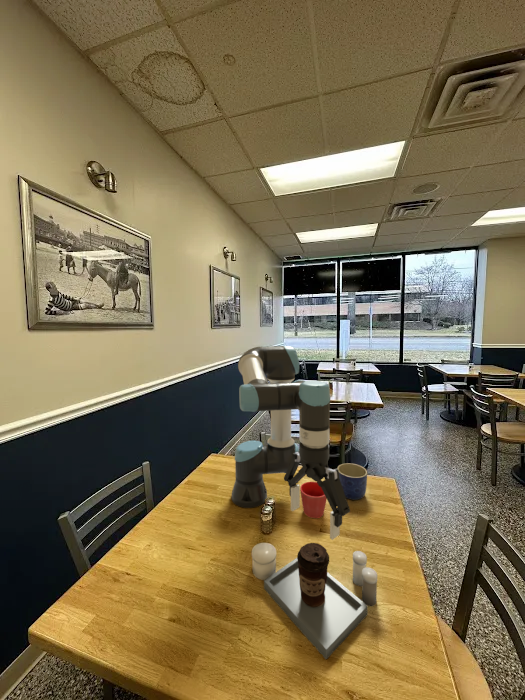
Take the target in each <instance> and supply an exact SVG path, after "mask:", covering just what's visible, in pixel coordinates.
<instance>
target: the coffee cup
mask: <svg viewBox="0 0 525 700" xmlns="http://www.w3.org/2000/svg"><path fill="white" fill-rule="evenodd" d="M327 550H328V549H326V547H324V546H323V545H321V544H320V543H316V542H309V543H306V544H304V545H303V546H301V547H300V549H299V551H298V552H297V557H296V558H297V559H298V569H299V580H300V581H299V582H300V590H301V598H302V600H303V602H304V603H305V604H306V605H308V606H310V607H319V606H321V605H322V604H323V603H325V594H324V592H325V584H326V581H327V572H328V568H329V567H328V566H329V564H330V555H329V553H328V552H327Z"/></svg>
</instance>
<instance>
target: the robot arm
mask: <svg viewBox="0 0 525 700" xmlns="http://www.w3.org/2000/svg"><path fill="white" fill-rule="evenodd" d="M299 361H300V360H299V357H298V353H297V350H296V349H295V348H294V347H293V346H290V345H289V346H287V345H278V346H276V345H273V346H255V347H253V348H250V349H248V350H246V351H245V352H243V354H242V355H241V356H240V357H239V360H238V363H237V367H238V371H239V373H240V375H241V376H242V380H243V384H241V385H240V386H239V388H238V390H239V395H238V396H239V399H238V400H239V409H240V410H241V411H242V412H252V413H255V412H265V411H268V412H269V411H270V437H269V438H268V439H267V443H266V444H263V442H261V441H260V440H248V441H244V442H242V443H239V444H238V445H237V446H236V448H235V453H234V454H235V455H234V462H235V464H234V465H235V473H234V474H235V481H234V485H233V488H232V491H231V501H232V503H233V504H234V505H236V506H237V507H240V508H247V509H248V508H249V509H252V508H257V507H259V506H261V505H263V504H264V503H265V502H266V501H265V499H266V498H267V499H268V490H267V487H266V485H265V482H264V477H263V476H264V475H270V474H271V475H272V474H284V477H283V480H284V482H287V484H288V486H289V497H290V511H291V512H294V511H295V510H298V509H299V508H300V499H301V498H300V497H301V491H300V487H301V485H300V484H298V483H300V482H301V480H302V479H303V478H304V477H305V476H306V477H307V478H309V479H312V480H313V482H317V483H318V485H319V486H320V487H321V488H322V490H323V492H324V494H325V496H326V498H327V499H326V501H327V502H328V504H329V506H330V509H331V511H330V513H329V516H330V517H329V519H330V520H329V539H331V540H332V541H333V540H334V539H336V538H337V537H338V536H341V535H340V533H341V531H340V529H341V526H342V525H343V517H344V516H346V515H347V514H349V513H350V512H351V508H350V506H349V502H348V501H347V500H348V498H346V496H345V494H344V491H343V488H342V485H341V482H340V479H339V470H338V469H337V468H334V469H332V468H330V467H329V465H328V463H329V462H328V461H329V459H330V445H329V443H330V421H331V420H330V413H331V406H330V405H331V397H332V396H331V389H330V385H329V384H328V383H327V382H326V381H321V380H302V379H296V380H295V378H296V377H295V375H297V374H299V373H300V362H299ZM294 380H295V381H294ZM292 410H295V411H296V410H298V414H299V423H298V424H299V428H298V429H299V431H298V433H299V437H298V438H299V446H298V444H297V443H296V442H295V439H294V438H292ZM300 464H301V468H300V469H299V470H298V468H299V466H300ZM296 471H297V473H296ZM322 479H324V480H322ZM267 499H266V500H267ZM264 501H265V502H264Z"/></svg>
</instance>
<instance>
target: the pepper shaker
mask: <svg viewBox="0 0 525 700" xmlns="http://www.w3.org/2000/svg"><path fill="white" fill-rule="evenodd" d="M377 584H378V573H377V571H376V570H375V569H374V568H372V567H369V566H366V568H364V569H363V570H362V586H361V591H362V593H361V601H363V602H364V603H365V604H366V605H367V606H368V607H374V606H376V605H377V592H378V591H377V589H378V588H377V587H378V585H377Z"/></svg>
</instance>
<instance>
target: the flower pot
mask: <svg viewBox="0 0 525 700" xmlns="http://www.w3.org/2000/svg"><path fill="white" fill-rule="evenodd" d="M300 497H301V498H300V499H301V504H302V509H303V513H304V515H305V516H306V517H308V518H311V519H319V518H321V517H323V516H324V513H325V508H326V504H327V498H326V496H325V494H324V492H323V490H322V488H321V487H320V486H319V485H318V483H317V481H307V482H304V483H302V484H301V485H300Z"/></svg>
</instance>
